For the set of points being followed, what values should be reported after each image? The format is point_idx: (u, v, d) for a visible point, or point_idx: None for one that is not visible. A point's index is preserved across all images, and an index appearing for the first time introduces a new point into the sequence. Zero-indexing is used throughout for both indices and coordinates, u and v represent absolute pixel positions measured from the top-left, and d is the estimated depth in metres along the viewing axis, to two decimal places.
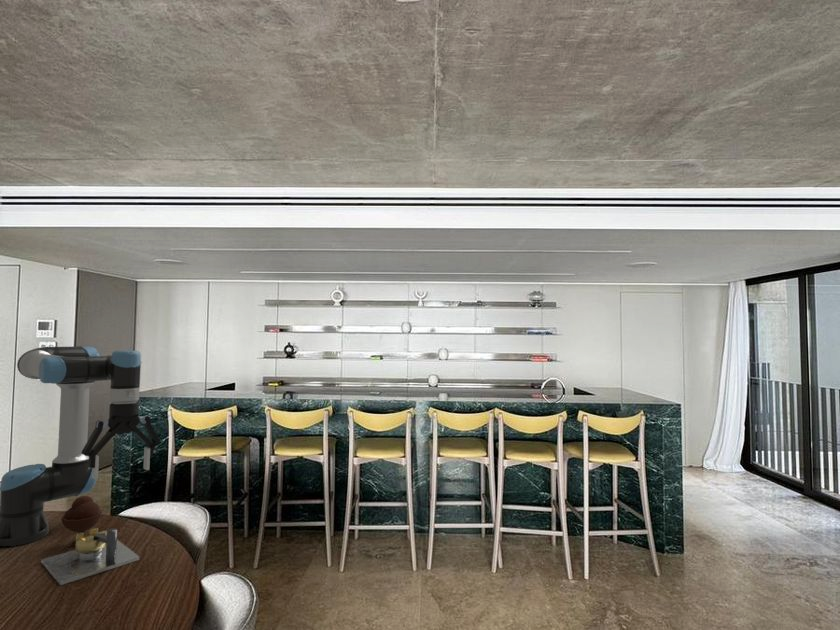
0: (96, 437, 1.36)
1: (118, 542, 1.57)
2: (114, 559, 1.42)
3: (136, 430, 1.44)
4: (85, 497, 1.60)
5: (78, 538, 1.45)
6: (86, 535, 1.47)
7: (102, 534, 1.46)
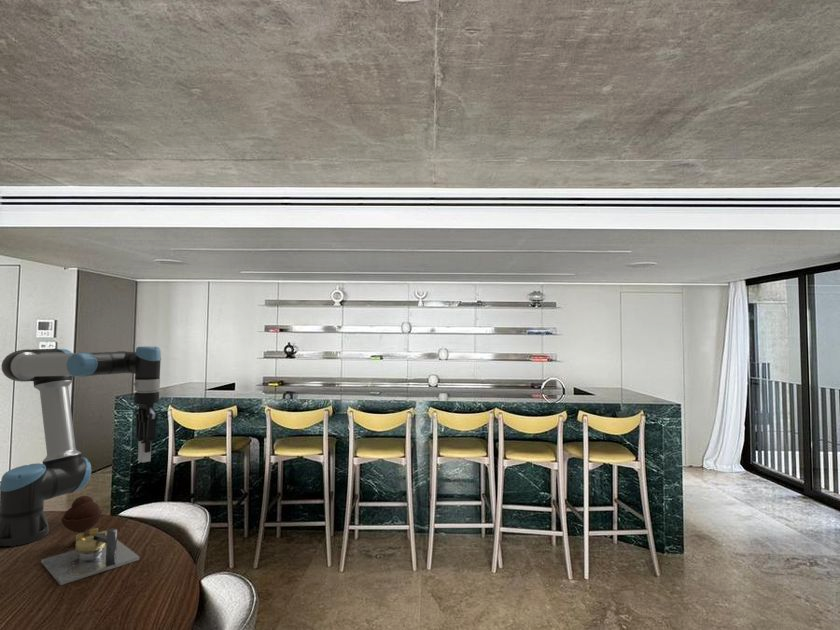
0: (136, 422, 1.65)
1: (118, 542, 1.57)
2: (114, 559, 1.42)
3: (142, 419, 1.61)
4: (85, 497, 1.60)
5: (78, 538, 1.45)
6: (86, 535, 1.47)
7: (102, 534, 1.46)
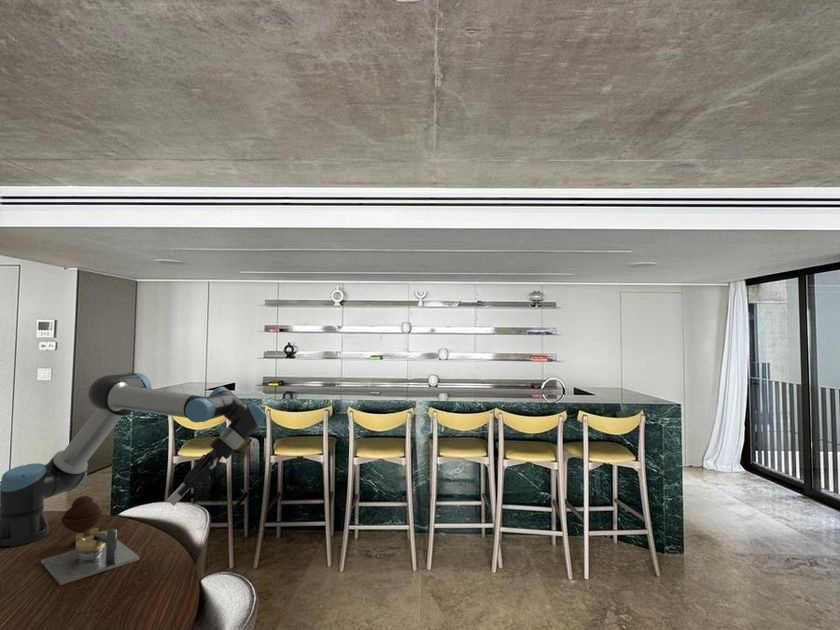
0: (195, 465, 1.60)
1: (118, 542, 1.57)
2: (114, 559, 1.42)
3: (202, 463, 1.56)
4: (85, 497, 1.60)
5: (78, 538, 1.45)
6: (86, 535, 1.47)
7: (102, 534, 1.46)
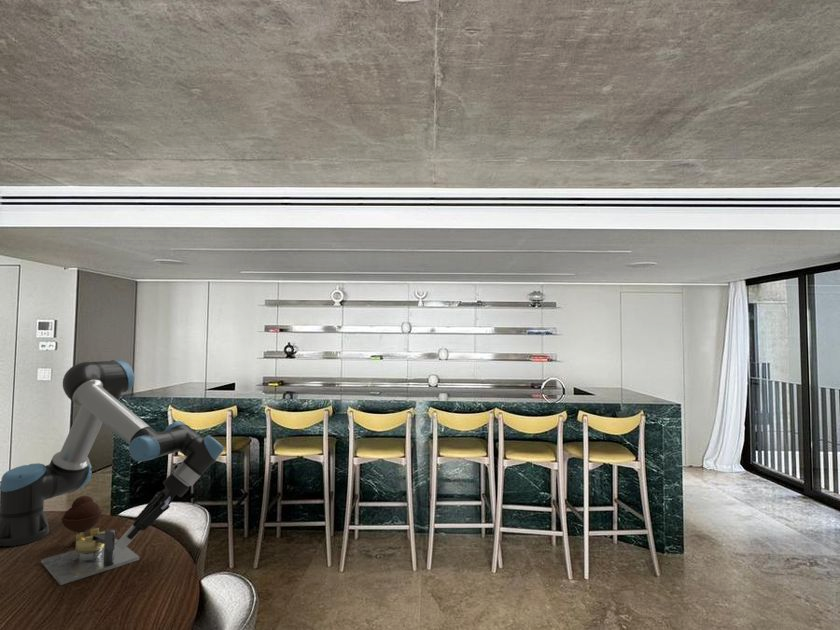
0: (148, 504, 1.52)
1: None
2: (112, 560, 1.41)
3: (154, 502, 1.48)
4: (85, 497, 1.60)
5: (78, 538, 1.45)
6: (87, 535, 1.48)
7: (101, 534, 1.46)
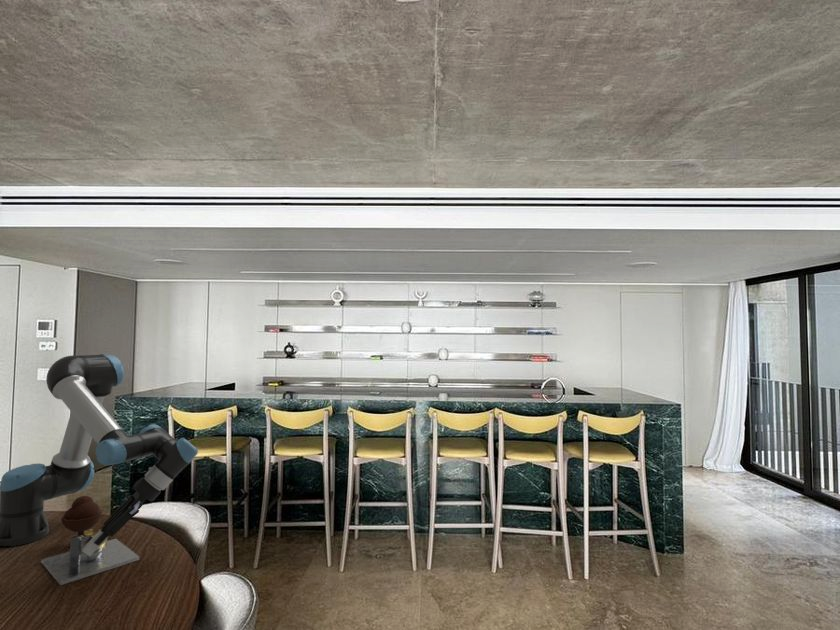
0: (118, 508, 1.47)
1: (118, 542, 1.57)
2: (73, 569, 1.36)
3: (123, 507, 1.43)
4: (85, 497, 1.60)
5: (84, 534, 1.48)
6: (95, 533, 1.49)
7: (89, 537, 1.43)
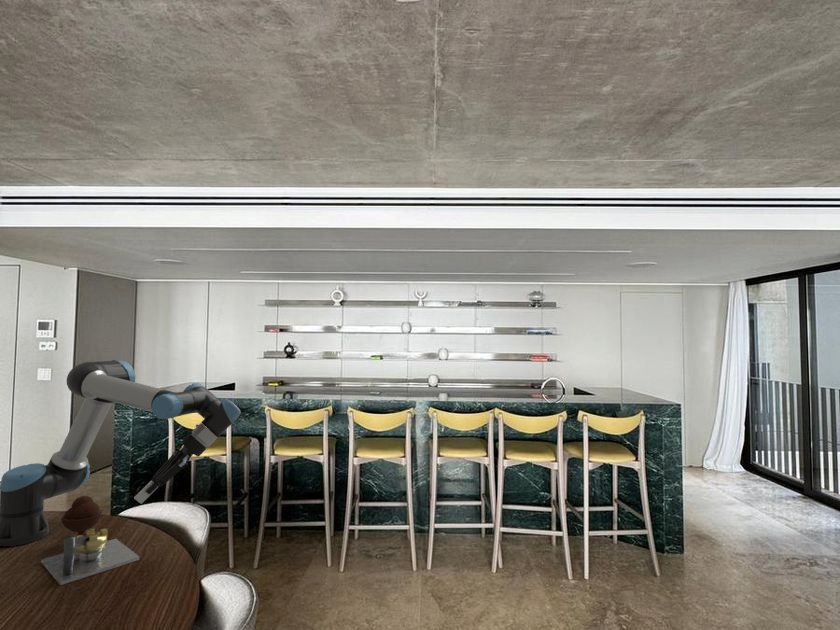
0: (166, 462, 1.55)
1: (118, 542, 1.57)
2: (66, 569, 1.35)
3: (172, 460, 1.52)
4: (85, 497, 1.60)
5: (86, 533, 1.48)
6: (97, 533, 1.49)
7: (87, 537, 1.43)
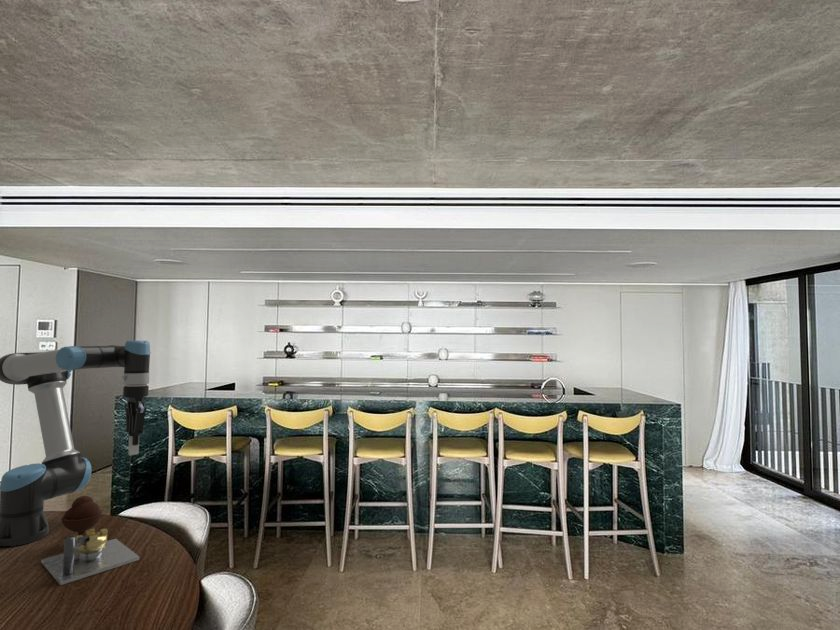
0: (126, 416, 1.66)
1: (118, 542, 1.57)
2: (66, 569, 1.35)
3: (131, 412, 1.62)
4: (85, 497, 1.60)
5: (86, 533, 1.48)
6: (97, 533, 1.49)
7: (87, 537, 1.43)
